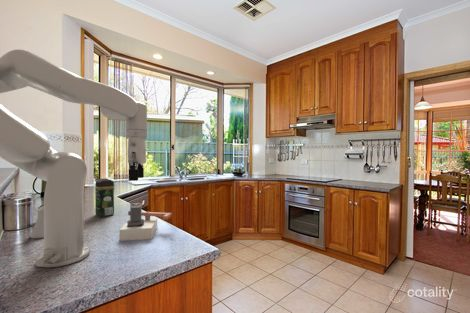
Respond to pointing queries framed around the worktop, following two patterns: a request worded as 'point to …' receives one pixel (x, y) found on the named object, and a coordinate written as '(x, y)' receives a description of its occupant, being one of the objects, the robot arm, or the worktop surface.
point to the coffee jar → (104, 197)
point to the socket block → (139, 230)
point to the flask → (38, 226)
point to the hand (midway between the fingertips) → (136, 179)
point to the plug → (135, 215)
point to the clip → (155, 214)
